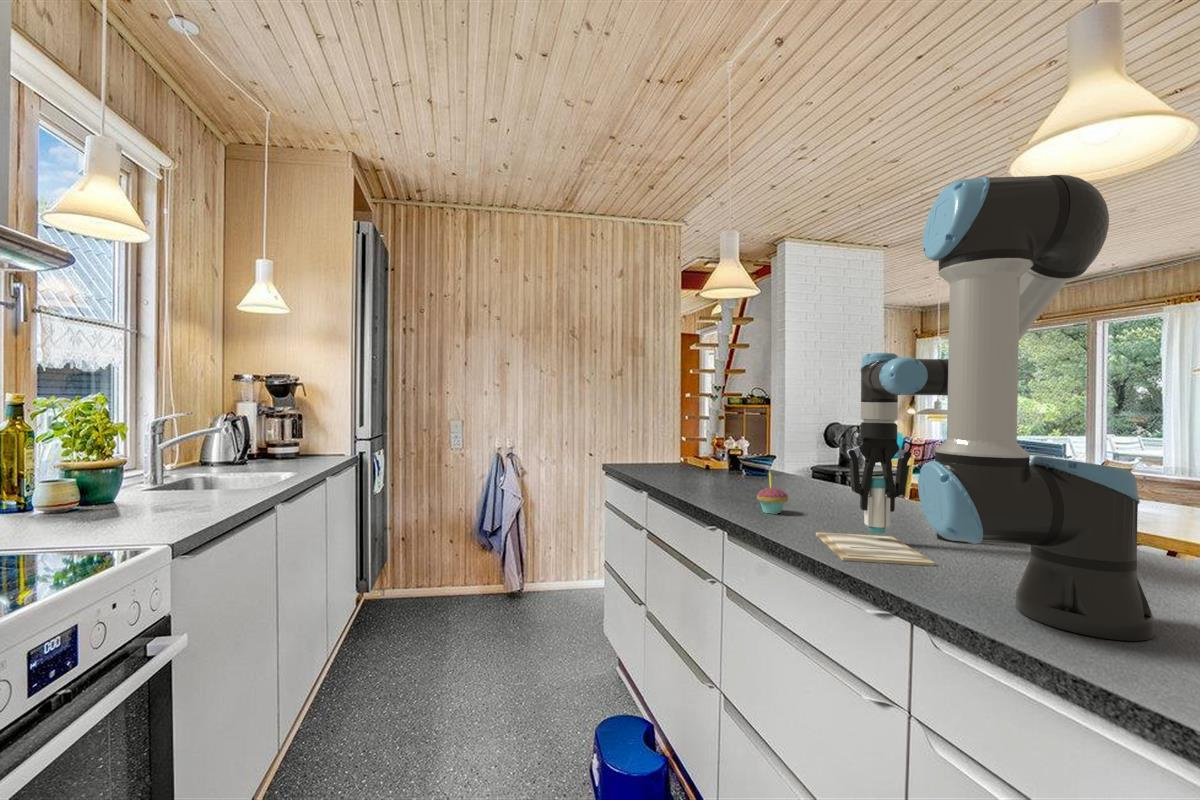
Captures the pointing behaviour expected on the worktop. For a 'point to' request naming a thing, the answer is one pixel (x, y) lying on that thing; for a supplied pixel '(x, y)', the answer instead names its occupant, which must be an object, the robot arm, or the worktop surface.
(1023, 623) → the worktop surface
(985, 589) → the worktop surface
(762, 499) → the cupcake
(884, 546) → the wooden board
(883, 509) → the marker
